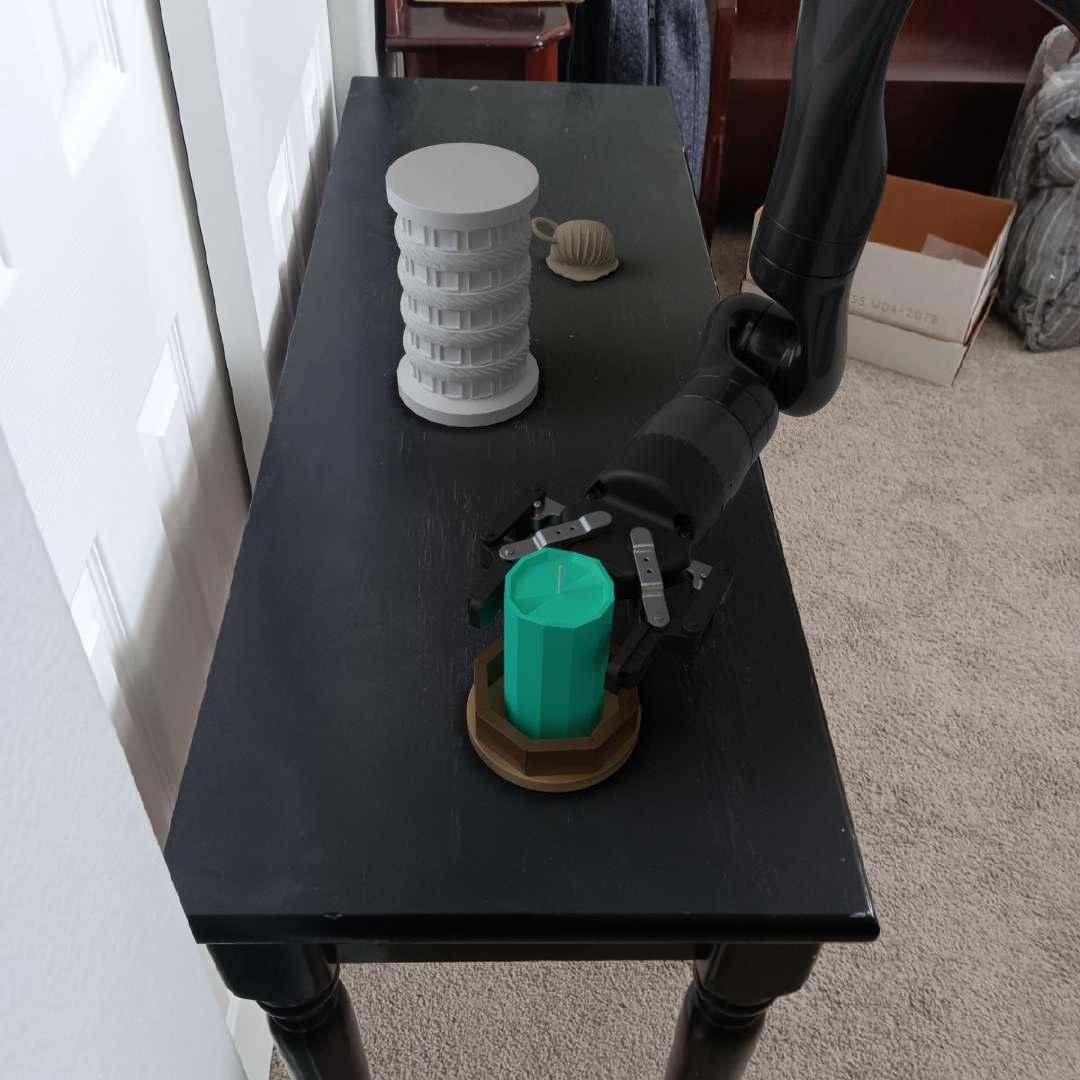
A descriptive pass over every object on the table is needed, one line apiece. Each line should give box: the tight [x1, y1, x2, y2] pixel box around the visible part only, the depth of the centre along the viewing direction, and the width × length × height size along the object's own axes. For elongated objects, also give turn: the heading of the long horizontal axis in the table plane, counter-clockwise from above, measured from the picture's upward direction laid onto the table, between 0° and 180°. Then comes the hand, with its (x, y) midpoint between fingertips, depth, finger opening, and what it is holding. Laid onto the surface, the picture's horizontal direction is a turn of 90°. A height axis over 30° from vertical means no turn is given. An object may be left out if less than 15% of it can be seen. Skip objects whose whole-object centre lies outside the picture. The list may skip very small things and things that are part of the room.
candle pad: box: [466, 633, 642, 793], centre depth 64 cm, size 10×10×4 cm
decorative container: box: [385, 142, 540, 428], centre depth 82 cm, size 12×12×18 cm
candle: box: [503, 547, 616, 740], centre depth 60 cm, size 6×6×12 cm
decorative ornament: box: [531, 216, 620, 283], centre depth 100 cm, size 4×8×5 cm, turn 88°
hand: (540, 650), depth 58 cm, fingers open, 8 cm apart
